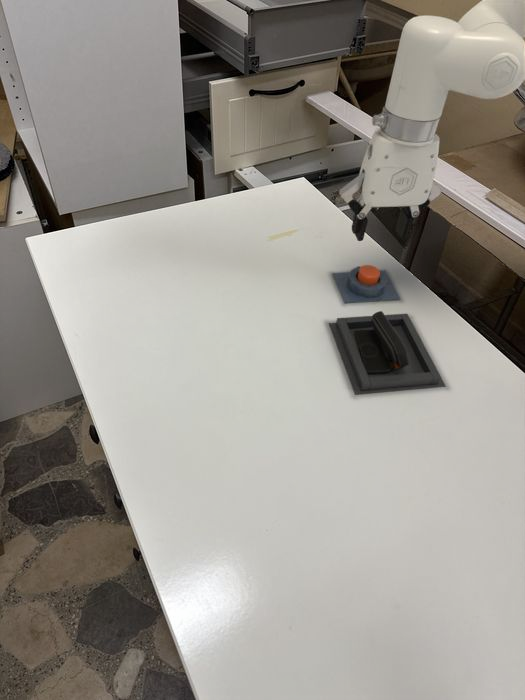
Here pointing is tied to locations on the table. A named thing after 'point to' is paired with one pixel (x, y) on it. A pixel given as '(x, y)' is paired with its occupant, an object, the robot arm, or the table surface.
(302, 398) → the table surface
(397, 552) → the table surface
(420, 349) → the dock
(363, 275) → the power button
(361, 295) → the button base
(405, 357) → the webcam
